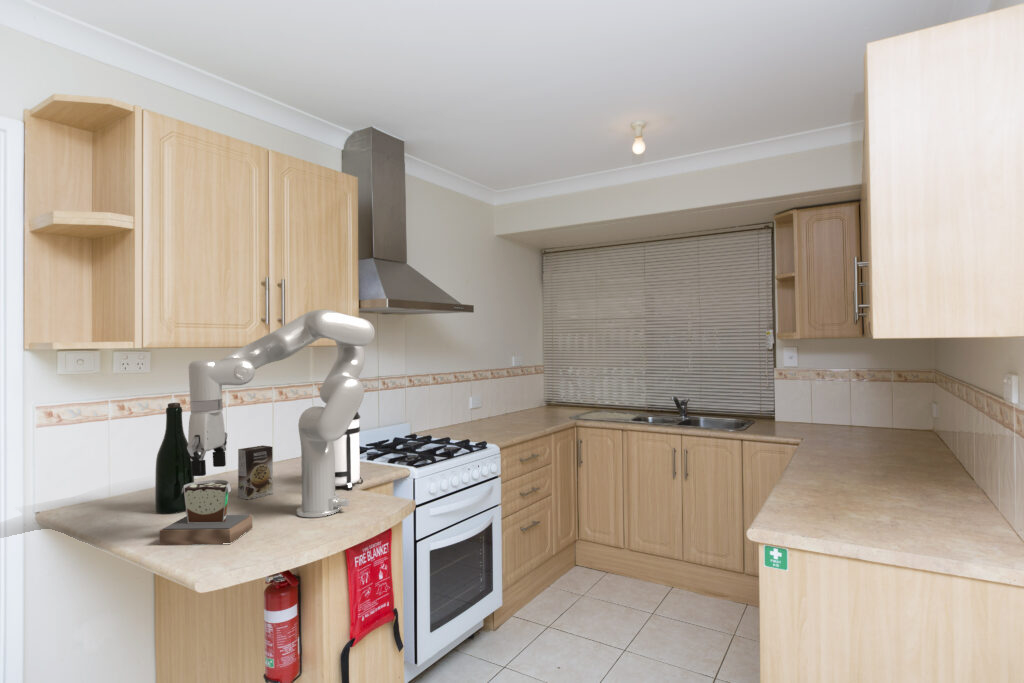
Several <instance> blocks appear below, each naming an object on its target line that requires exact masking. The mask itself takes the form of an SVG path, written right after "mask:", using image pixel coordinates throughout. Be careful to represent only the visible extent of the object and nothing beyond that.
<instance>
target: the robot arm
mask: <svg viewBox="0 0 1024 683" xmlns="http://www.w3.org/2000/svg"><path fill="white" fill-rule="evenodd" d="M375 333H376V332H375V328H374V326H373V324H372V322H370V321H369V320H367V319H365V318H364V317H363V318H362V317H358V316H355V315H350V314H346V313H343V312H342V313H341V312H339V311H335V310H330V309H317V310H310V311H308V312H306V313H303V314H302V315H300V316H299V317H297V318H295V319H294V320H292V321H289V322H288V323H286V324H284V325H283V326H281V327H279V328H278V329H276V330H274V331H271V332H270V333H268V334H266V335H263V336H262V337H260V338H258V339H256V340H254V341H252V342H250V343H249V344H246V345H244V346H242V347H240V348H238V349H236V350H235V351H233V352H231V353H230V354H228V355H226V356H224V357H223V358H221V359H220V360H217V359H201V360H194V361H191V362H189V365H188V381H189V382H188V385H189V386H188V387H189V401H190V402H189V404H190V414H189V421H188V434H187V435H188V436H187V437H188V438H187V442H188V446H187V450H188V452H189V456H190V460H191V461H192V475H193V476H194V477H204V476H206V475H207V471H206V470H207V466H206V459H205V456H206V453H207V452H210V451H212V450H213V452H212V465H213V467H214V468H215V467H219V468H220V467H221V468H222V467H225V466H226V464H227V463H226V451H227V447H226V446H227V443H228V441H227V439H228V433H227V432H225V430H226V429H225V420H224V415H223V411H224V406H223V387H222V386H243V385H246V384H248V383H250V382H251V381H252V380H253V378H254V377H255V374H256V370H257V369H259V368H261V367H264V366H265V365H268V364H271V363H275V362H279V361H283V360H285V359H288V358H290V357H292V356H293V355H295V354H297V353H298V352H300V351H301V350H303V349H305V348H306V347H308V346H310V345H312V344H313V343H315V342H317V341H318V340H320V339H329V340H332V341H335V344H336V347H337V357H336V359H335V362H334V364H333V365H332V367H331V369H330V371H329V372H328V374H327V376H326V377H325V380H324V381H323V383H322V384H321V386H320V389H319V396H320V400H321V401H322V402H323V403H324V404H325V406H316V405H315V406H310V407H308V408H307V409H304V411H302V413H301V414H300V416H299V419H298V433H299V441H300V450H301V457H300V458H301V460H300V461H301V462H300V463H301V506H299V507H297V509H296V515H297V516H299V517H303V518H322V517H326V516H327V515H328V516H331V514H332V515H334V513H335V514H336V512H337V513H338V512H340V511H341V509H342V507H349V506H350V505H349V504H350V500H349V499H348V498H347V497H346V498H340V497H339V493H336V486H335V449H334V442H333V441H336V440H338V439H340V438H341V437H342V436H343V435H344V434H345V432H346V431H347V429H348V427H349V426H350V424H351V422H352V420H353V418H354V416H355V414H356V413H357V412H358V411H359V408H360V407H361V405H362V402H363V400H364V394H365V389H364V385H363V383H362V381H360V380H359V378H360V375H361V373H362V371H363V369H364V365H365V360H366V359H365V351H364V347H366V346H368V345H369V344H371V343H372V342H373V341H374V338H375V335H376V334H375ZM339 510H340V511H339Z"/></svg>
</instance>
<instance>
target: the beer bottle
mask: <svg viewBox="0 0 1024 683" xmlns="http://www.w3.org/2000/svg"><path fill="white" fill-rule="evenodd" d="M165 414H166V415H165V417H166V418H165V419H166V420H165V430H164V436H163V438H162V441H161V444H160V446H159V450H158V451H157V454H156V459H155V474H154V475H155V476H154V477H155V480H154V481H155V482H154V483H155V487H154V488H155V489H154V497H155V498H154V501H155V503H154V505H155V506H154V507H155V511H156V512H157V513H159V514H164V513H167V514H177V513H181V511H182V512H186V511H185V510H186V505H185V497H184V493H182V488H183V486H184V485H186V484H189V483H193V482H195V476H193V475H192V461H191V460H190V456H189V452H188V450H187V446H188V438H187V437H186V434H185V431H184V426H183V407H182V406H181V402H170V403H167V407H166V409H165ZM176 512H177V513H176Z"/></svg>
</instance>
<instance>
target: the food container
mask: <svg viewBox="0 0 1024 683" xmlns="http://www.w3.org/2000/svg"><path fill="white" fill-rule="evenodd" d="M231 491H232V488H231V483H230V482H229V481H228V480H224V479H209V480H208V479H207V480H199V481H194V482H193V483H189V484H186V485H184V486H183V488H182V493H184V497H185V505H186V511H185V513H186V516H187V522H188V524H190V523H224V522H225V521H226V515H227V512H228V500H229V493H230V492H231Z"/></svg>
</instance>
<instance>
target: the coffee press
mask: <svg viewBox="0 0 1024 683" xmlns="http://www.w3.org/2000/svg"><path fill="white" fill-rule="evenodd" d="M360 418H361V415H360V413H359V412H358V411H357V413H356V414H355V416H354V418H353V420H352V422H351V424H350V426H349V427H348V429H347V431H346V432H345V434H344V435H343V436H342V437H341V438H340V439H338V440H336V441H333V442H334V449H335V487H346V490H347V491H352V490H353V484H356V483H358V484H360V485H361V484H363V483H364V479H363V478H362V477H361V473H360V472H361V471H360V470H361V468H360V467H361V465H360V464H361V462H360V461H361V460H360V459H361V458H360V457H361V456H360V455H361V454H360V452H361V451H360V450H361V449H360V432H361V426H360ZM359 480H361V481H360V482H359Z"/></svg>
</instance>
